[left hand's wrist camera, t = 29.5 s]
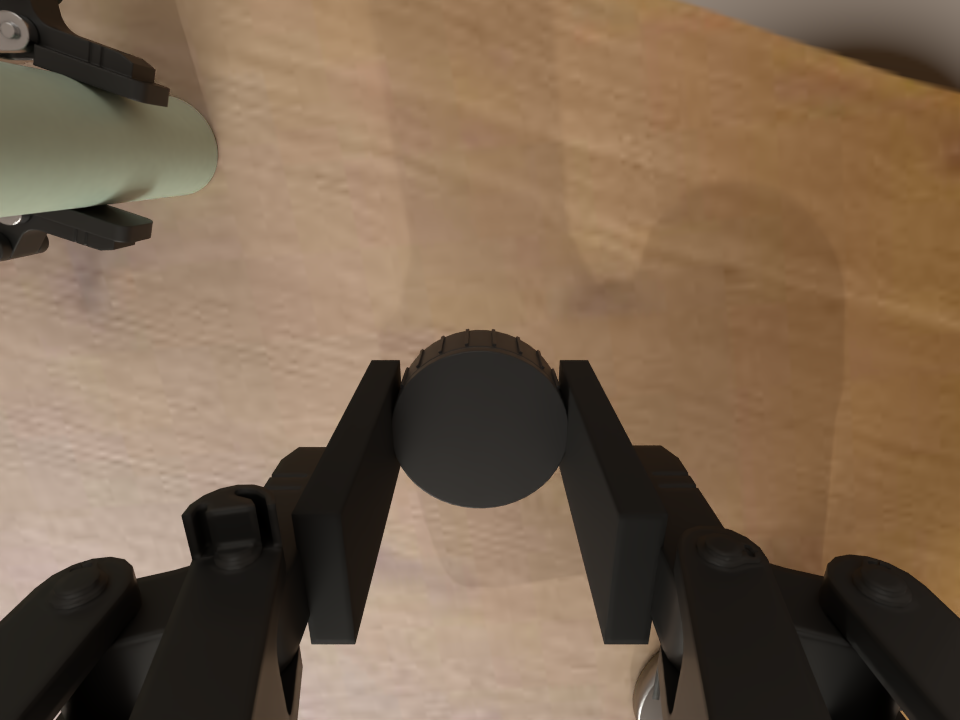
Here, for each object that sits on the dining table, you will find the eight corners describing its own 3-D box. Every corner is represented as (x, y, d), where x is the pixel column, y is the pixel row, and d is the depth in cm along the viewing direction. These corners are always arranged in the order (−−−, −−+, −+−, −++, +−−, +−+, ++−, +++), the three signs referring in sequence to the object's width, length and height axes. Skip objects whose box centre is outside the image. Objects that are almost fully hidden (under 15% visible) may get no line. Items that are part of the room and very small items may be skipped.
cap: (498, 501, 16) (500, 538, 14) (367, 423, 15) (354, 454, 13) (595, 387, 14) (608, 414, 13) (457, 294, 13) (454, 312, 12)
